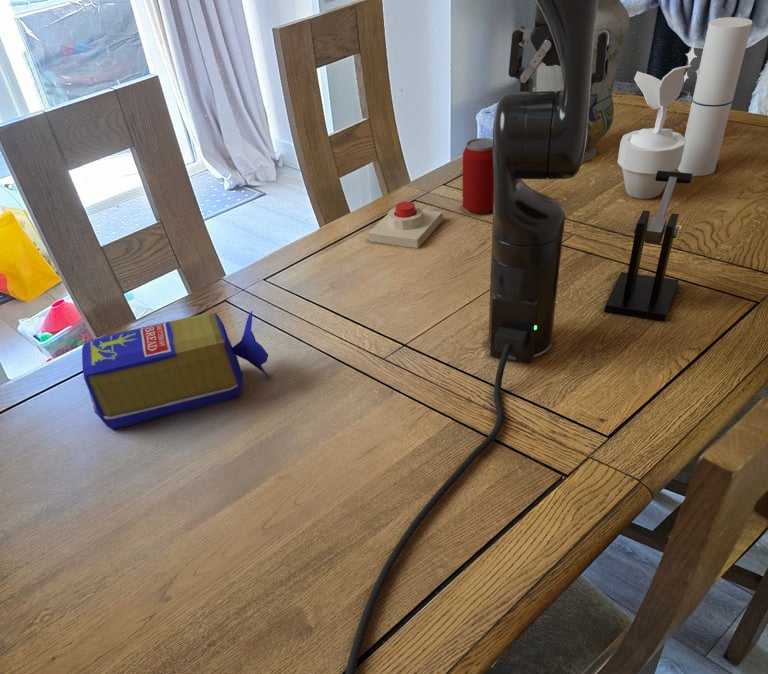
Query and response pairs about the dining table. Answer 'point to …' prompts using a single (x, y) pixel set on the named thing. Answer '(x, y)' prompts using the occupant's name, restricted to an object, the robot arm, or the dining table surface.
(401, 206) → the button
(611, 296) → the bracket
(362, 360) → the dining table surface
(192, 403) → the bread
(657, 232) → the lever
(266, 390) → the dining table surface
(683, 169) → the cylindrical container
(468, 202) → the beverage can
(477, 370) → the dining table surface
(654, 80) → the potted plant
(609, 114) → the vase
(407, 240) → the button box
